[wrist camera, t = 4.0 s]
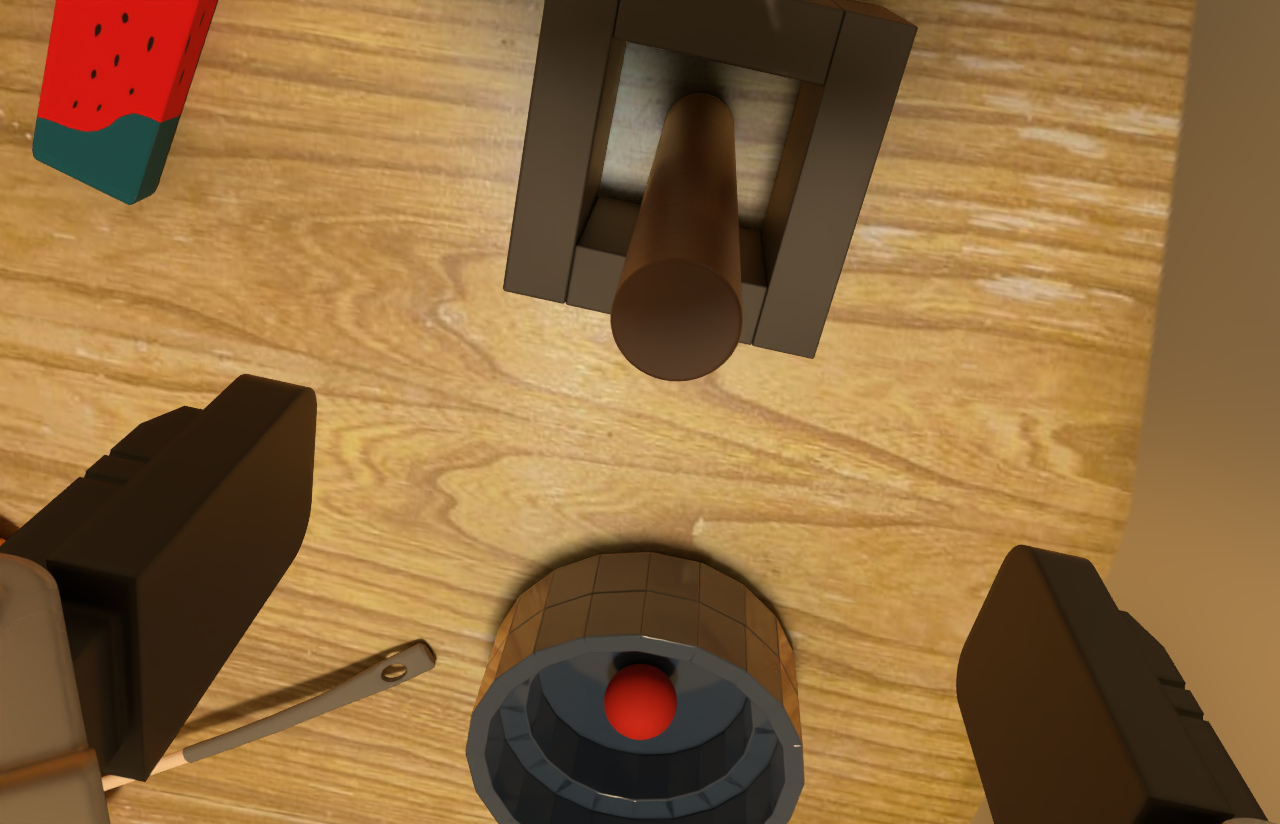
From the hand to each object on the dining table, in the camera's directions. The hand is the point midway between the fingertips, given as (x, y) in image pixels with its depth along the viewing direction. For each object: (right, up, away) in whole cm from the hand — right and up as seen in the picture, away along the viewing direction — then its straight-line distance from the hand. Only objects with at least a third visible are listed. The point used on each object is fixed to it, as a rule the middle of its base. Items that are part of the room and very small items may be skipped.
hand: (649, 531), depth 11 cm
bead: (0, -11, +32) cm, 33 cm away
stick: (+2, +11, +22) cm, 25 cm away
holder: (+2, +11, +22) cm, 25 cm away
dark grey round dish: (0, -10, +33) cm, 35 cm away
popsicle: (-16, +16, +22) cm, 32 cm away
